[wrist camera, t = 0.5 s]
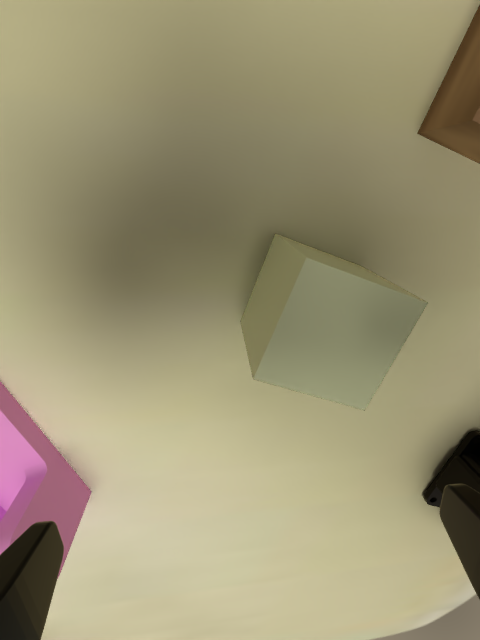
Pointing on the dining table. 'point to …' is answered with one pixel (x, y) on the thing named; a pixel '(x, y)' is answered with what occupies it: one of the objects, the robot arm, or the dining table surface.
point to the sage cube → (324, 324)
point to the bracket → (34, 479)
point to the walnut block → (459, 100)
